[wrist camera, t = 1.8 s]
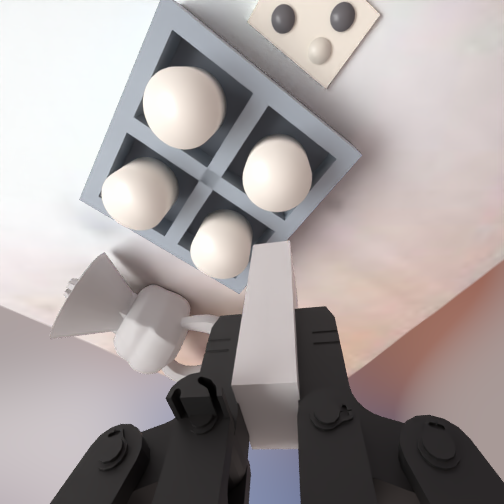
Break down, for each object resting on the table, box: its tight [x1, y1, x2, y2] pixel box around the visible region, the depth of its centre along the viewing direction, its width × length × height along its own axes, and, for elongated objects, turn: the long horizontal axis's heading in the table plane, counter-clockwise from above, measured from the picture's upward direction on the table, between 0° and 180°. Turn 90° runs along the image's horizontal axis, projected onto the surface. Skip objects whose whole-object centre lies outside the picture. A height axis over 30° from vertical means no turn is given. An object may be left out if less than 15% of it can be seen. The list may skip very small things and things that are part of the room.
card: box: [247, 0, 380, 89], centre depth 24 cm, size 8×6×1 cm
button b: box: [190, 209, 253, 279], centre depth 29 cm, size 5×5×4 cm
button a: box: [243, 134, 312, 212], centre depth 25 cm, size 5×5×4 cm
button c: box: [143, 67, 227, 149], centre depth 23 cm, size 5×5×4 cm
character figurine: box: [50, 252, 219, 382], centre depth 37 cm, size 13×9×20 cm
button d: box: [102, 157, 179, 230], centre depth 27 cm, size 5×5×4 cm
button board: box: [79, 0, 362, 294], centre depth 28 cm, size 18×18×4 cm
